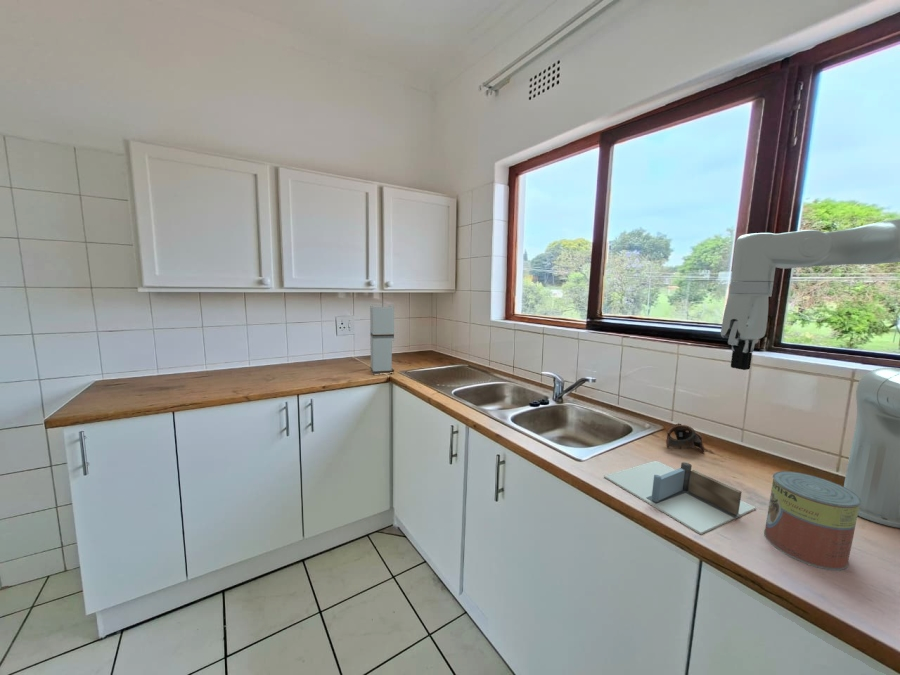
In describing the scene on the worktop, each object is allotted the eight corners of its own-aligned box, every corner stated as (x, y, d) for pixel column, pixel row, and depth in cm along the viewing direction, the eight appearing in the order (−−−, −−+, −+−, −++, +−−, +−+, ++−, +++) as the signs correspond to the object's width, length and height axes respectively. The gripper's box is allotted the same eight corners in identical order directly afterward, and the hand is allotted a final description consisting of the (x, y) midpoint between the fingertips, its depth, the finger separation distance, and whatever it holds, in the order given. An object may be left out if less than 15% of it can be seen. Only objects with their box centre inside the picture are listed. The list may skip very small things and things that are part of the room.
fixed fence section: (739, 516, 76) (743, 487, 75) (733, 519, 75) (738, 489, 74) (681, 487, 86) (684, 461, 85) (676, 489, 85) (679, 463, 84)
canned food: (757, 519, 75) (766, 465, 73) (833, 540, 69) (844, 481, 67) (772, 553, 65) (782, 492, 63) (861, 580, 59) (875, 513, 58)
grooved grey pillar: (393, 374, 189) (393, 307, 184) (373, 375, 186) (372, 307, 181) (390, 369, 200) (390, 306, 195) (370, 370, 196) (370, 306, 191)
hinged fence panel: (677, 487, 85) (679, 465, 84) (683, 490, 84) (686, 467, 83) (650, 499, 80) (652, 475, 79) (656, 502, 78) (658, 478, 78)
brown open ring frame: (713, 459, 102) (705, 437, 100) (677, 468, 105) (669, 447, 103) (694, 433, 113) (686, 412, 111) (662, 441, 116) (654, 422, 114)
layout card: (756, 509, 78) (757, 507, 78) (701, 535, 70) (702, 532, 69) (656, 461, 99) (656, 460, 99) (603, 477, 90) (604, 475, 90)
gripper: (748, 289, 89) (739, 363, 91) (713, 289, 82) (704, 367, 85) (787, 290, 82) (775, 369, 85) (752, 289, 75) (741, 375, 78)
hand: (740, 368), depth 85 cm, fingers closed
